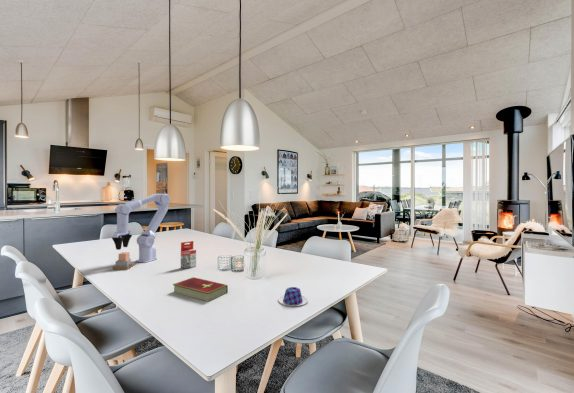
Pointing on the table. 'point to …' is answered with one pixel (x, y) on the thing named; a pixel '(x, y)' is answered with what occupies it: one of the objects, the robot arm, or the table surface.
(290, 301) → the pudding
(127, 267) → the base block
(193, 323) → the table surface
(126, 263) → the top block
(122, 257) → the cube
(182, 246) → the ink box
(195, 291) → the hardcover book
